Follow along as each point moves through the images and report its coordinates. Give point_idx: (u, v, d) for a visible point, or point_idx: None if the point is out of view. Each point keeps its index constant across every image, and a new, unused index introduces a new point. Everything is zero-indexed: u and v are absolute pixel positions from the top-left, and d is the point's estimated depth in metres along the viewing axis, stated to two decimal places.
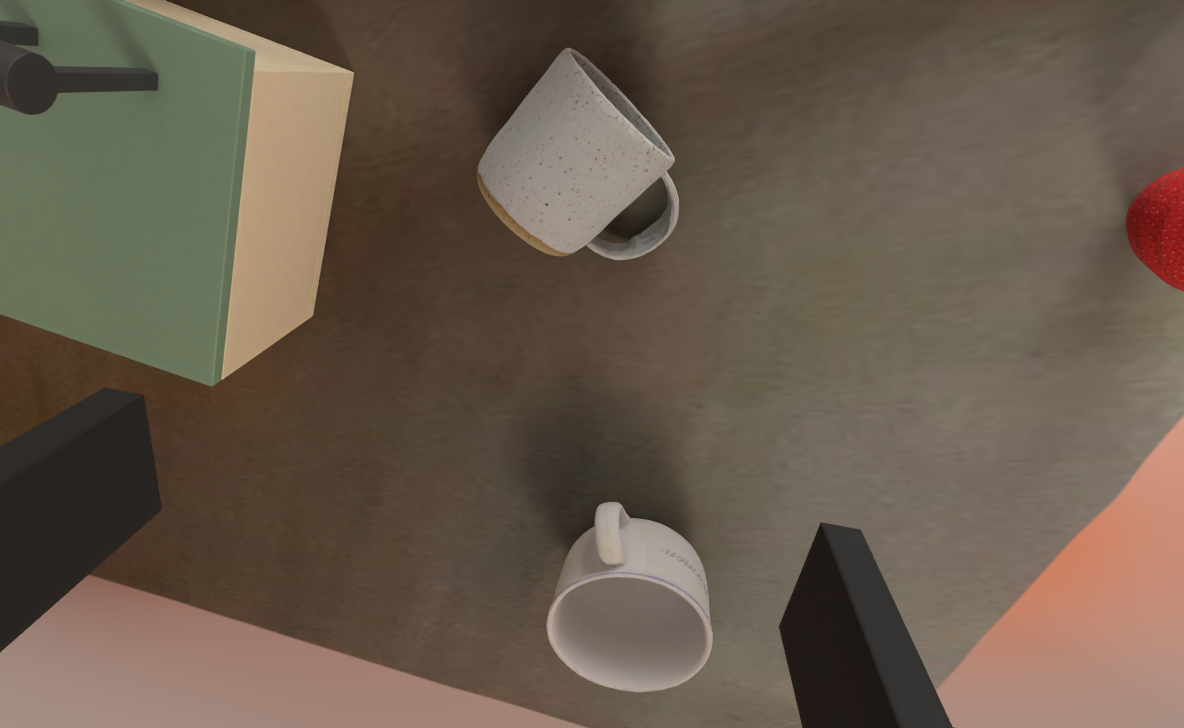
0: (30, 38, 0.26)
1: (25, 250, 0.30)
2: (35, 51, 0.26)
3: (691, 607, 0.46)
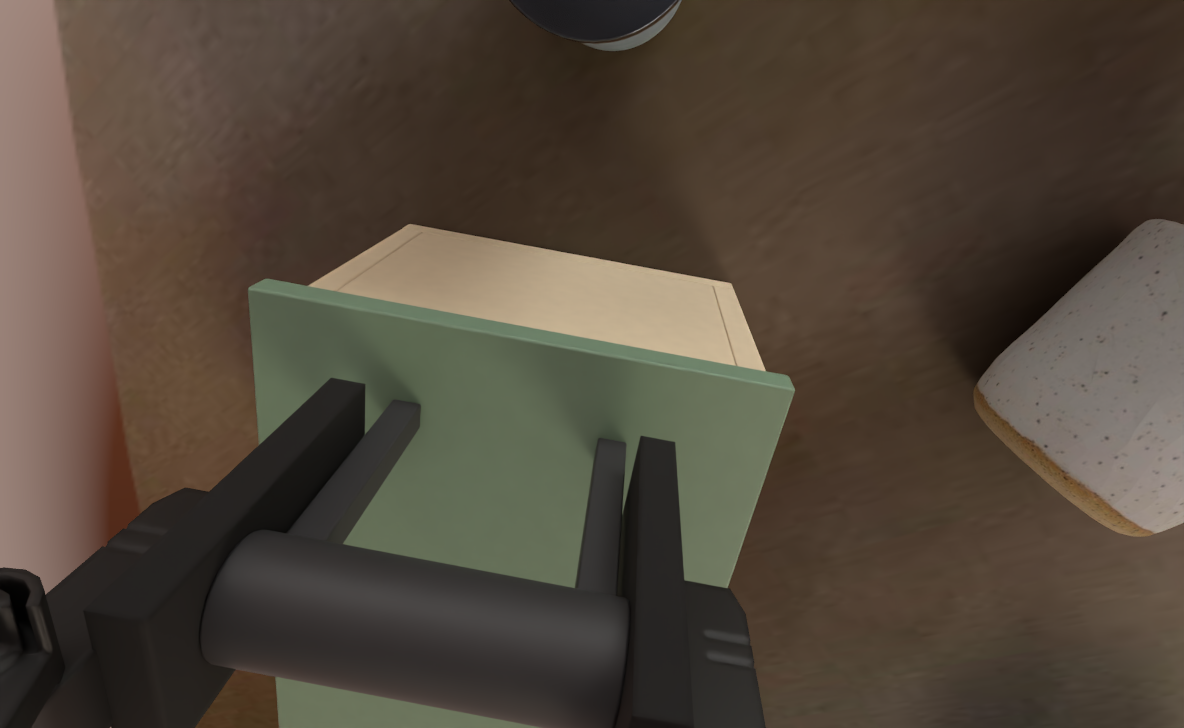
0: (415, 426, 0.15)
1: None
2: (413, 435, 0.15)
3: None
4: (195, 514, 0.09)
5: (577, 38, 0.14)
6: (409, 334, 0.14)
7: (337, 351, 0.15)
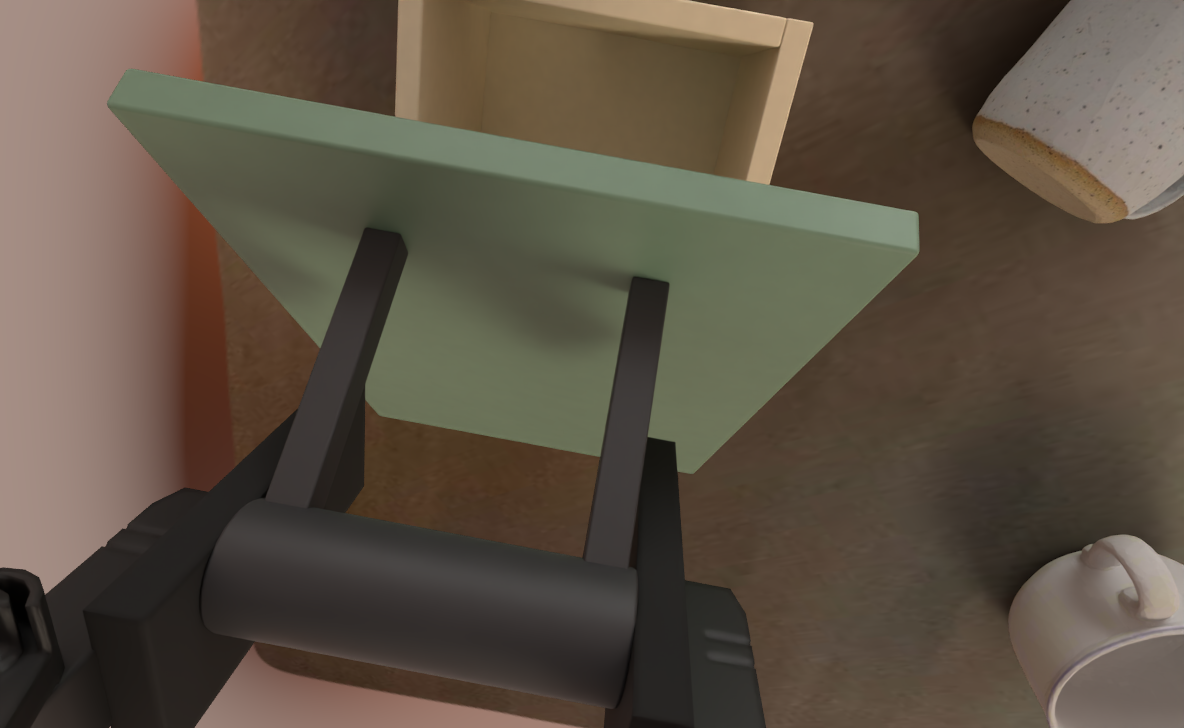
0: (400, 262, 0.12)
1: (440, 398, 0.21)
2: None
3: None
4: (195, 514, 0.09)
5: None
6: (354, 166, 0.10)
7: (270, 179, 0.11)
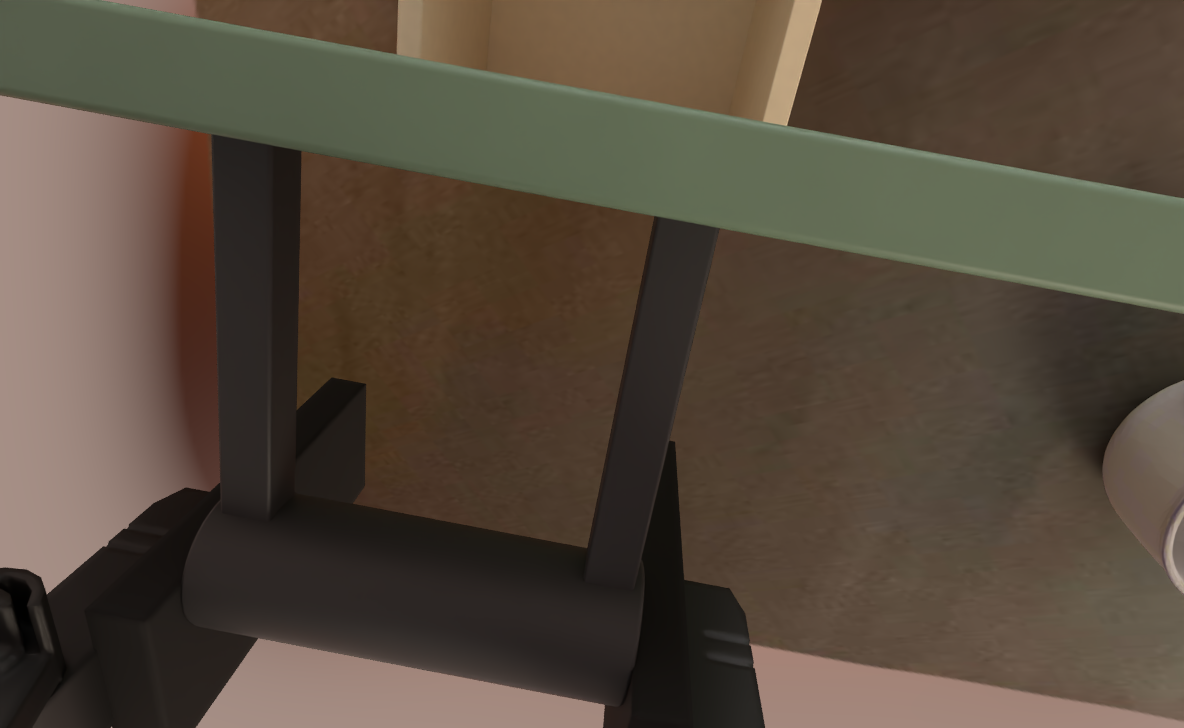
0: (290, 165, 0.07)
1: None
2: None
3: None
4: (196, 514, 0.09)
5: None
6: None
7: None
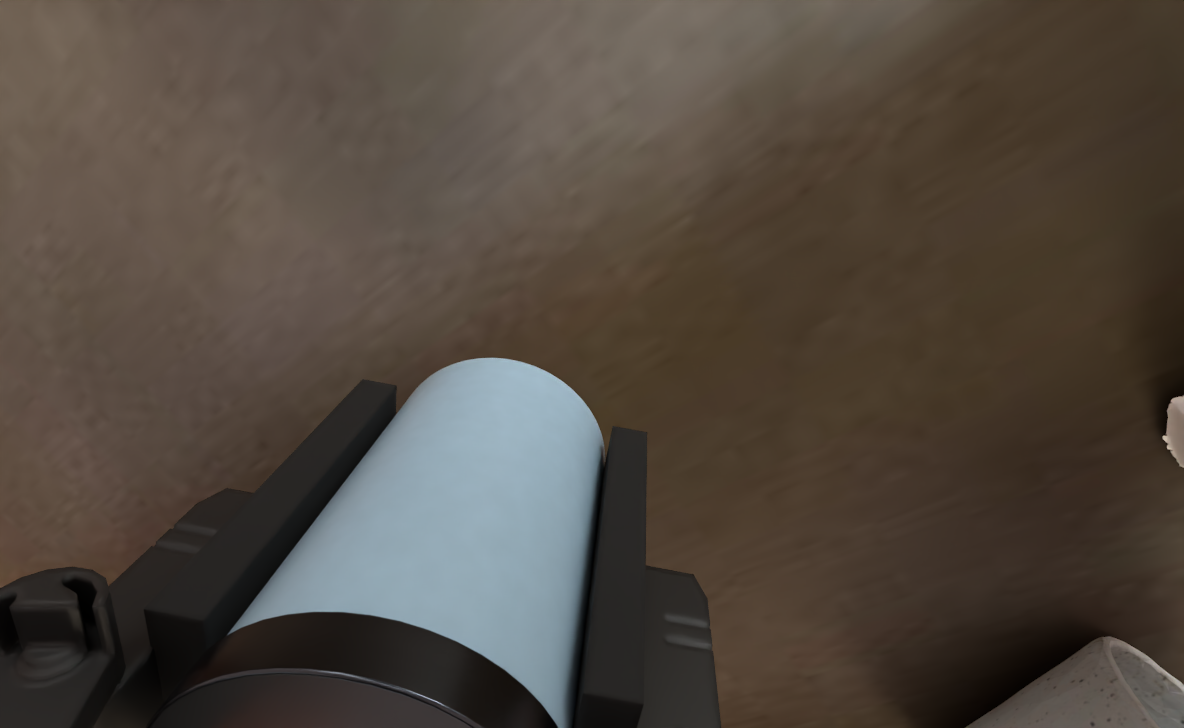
0: None
1: None
2: None
3: None
4: (243, 514, 0.09)
5: None
6: None
7: None
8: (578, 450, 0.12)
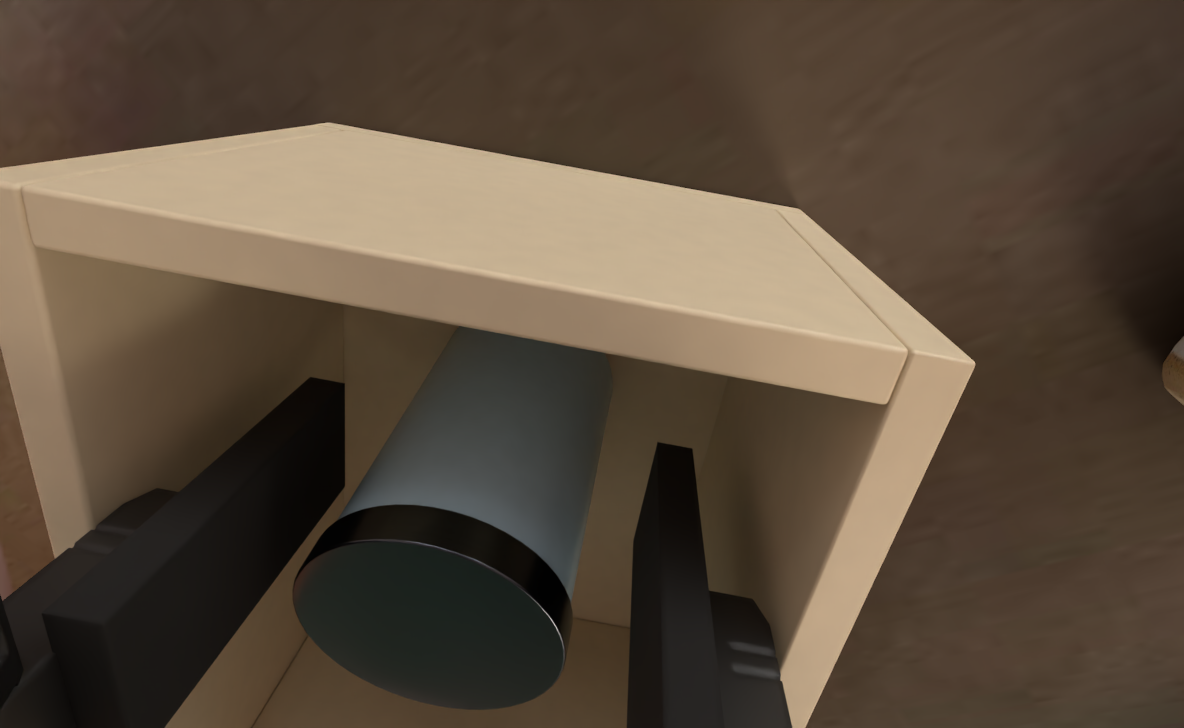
0: None
1: None
2: None
3: None
4: (163, 515, 0.09)
5: None
6: None
7: None
8: (586, 380, 0.15)
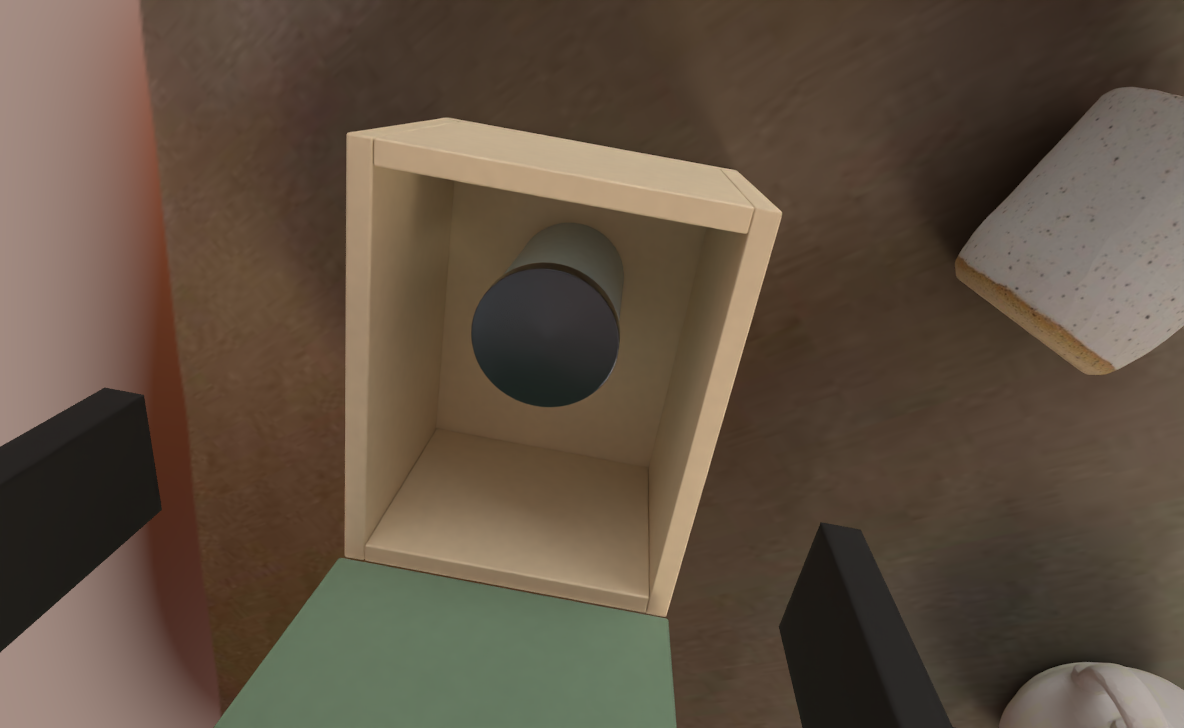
0: None
1: None
2: None
3: None
4: None
5: (540, 406, 0.22)
6: None
7: None
8: (612, 255, 0.26)
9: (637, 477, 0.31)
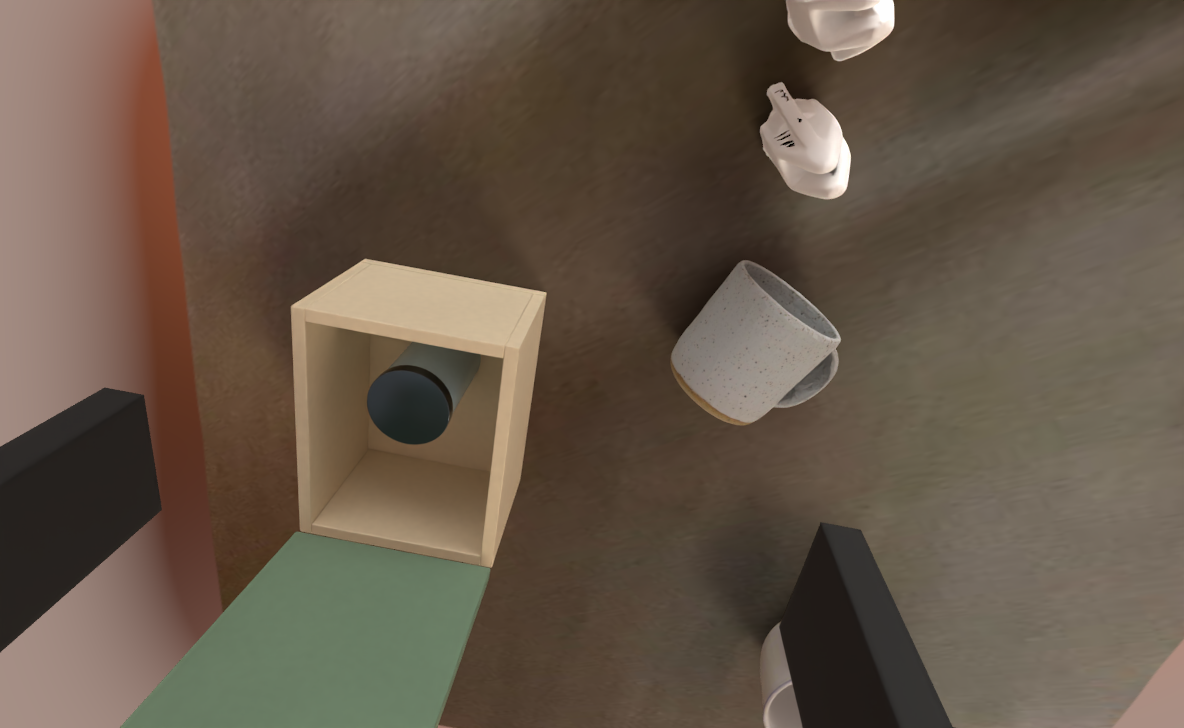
0: None
1: None
2: None
3: None
4: None
5: None
6: None
7: None
8: None
9: None
